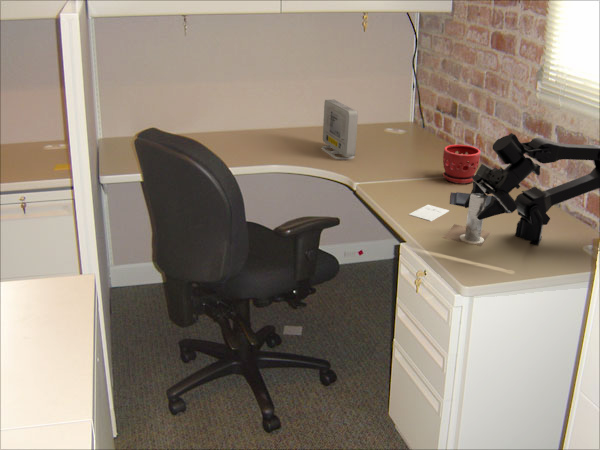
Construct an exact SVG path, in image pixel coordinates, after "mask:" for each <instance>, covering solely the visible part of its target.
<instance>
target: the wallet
mask: <svg viewBox="0 0 600 450" xmlns="http://www.w3.org/2000/svg"><path fill="white" fill-rule="evenodd" d="M470 194H471V193H469V192H467V193H466V192H457V191H456V192H450V197H449V205H453V206H458V207H463V208H465V207H464V204H465V202H466V200H467V199H468V197H469V195H470ZM486 195H487V194H486ZM487 196H488V197H487V198H486V205H485V208H486V207H487V206H488V205H489V204H490V202H491V197H492V196H494V195H489V194H488V195H487ZM494 197H495V196H494ZM495 198H496V199H497V197H495ZM467 209H469V207H468V208H467ZM507 211H508V210H507ZM507 214H512V213H511V212H509V211H508V213H507Z"/></svg>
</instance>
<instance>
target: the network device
mask: <svg viewBox="0 0 600 450" xmlns="http://www.w3.org/2000/svg"><path fill="white" fill-rule="evenodd" d="M323 109H324V110H323V124H322V125H323V127H322V141H323V143H324V144H325V145H322V146H321V148H320V149H321V150H322V151H323V152H324V153H326V154H328V155H329V156H331V158H333V159H335V160H339V161H340V160H352V159H355V156H356V150H357V148H356V147H357V135H358V134H357V133H358V120H359V119H358V118H359V113H358V111H357V110H356V109H354V108H352V107H350V106H348V105H345V104H344V103H342V102H340V101H338V100H336V99H324V105H323ZM331 148H332V149H333V150H328V149H331ZM336 155H342V156H343V157H342V156H340V157H339V156H336Z"/></svg>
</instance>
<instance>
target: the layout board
mask: <svg viewBox="0 0 600 450" xmlns="http://www.w3.org/2000/svg"><path fill="white" fill-rule="evenodd" d="M465 229H466V225H465V226H463V225H459V224H456V223H455V224H453V225H452V226H451V228H449V230H448V231H447V232H446V233H445V234H444V235H443V237H442V239H446V240H447V239H448V240H450V241H451V240H452V241H456V242H461V243H465V244H471V245H474V246H479V247H482V245H483V244H484V243H485V241H486V240H487V238H488V237H489V235H490V234H491V231H489V230H483V229H482V230H481V236H480V240H479V241H468V240H466V239H465V238H464V236H465Z"/></svg>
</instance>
